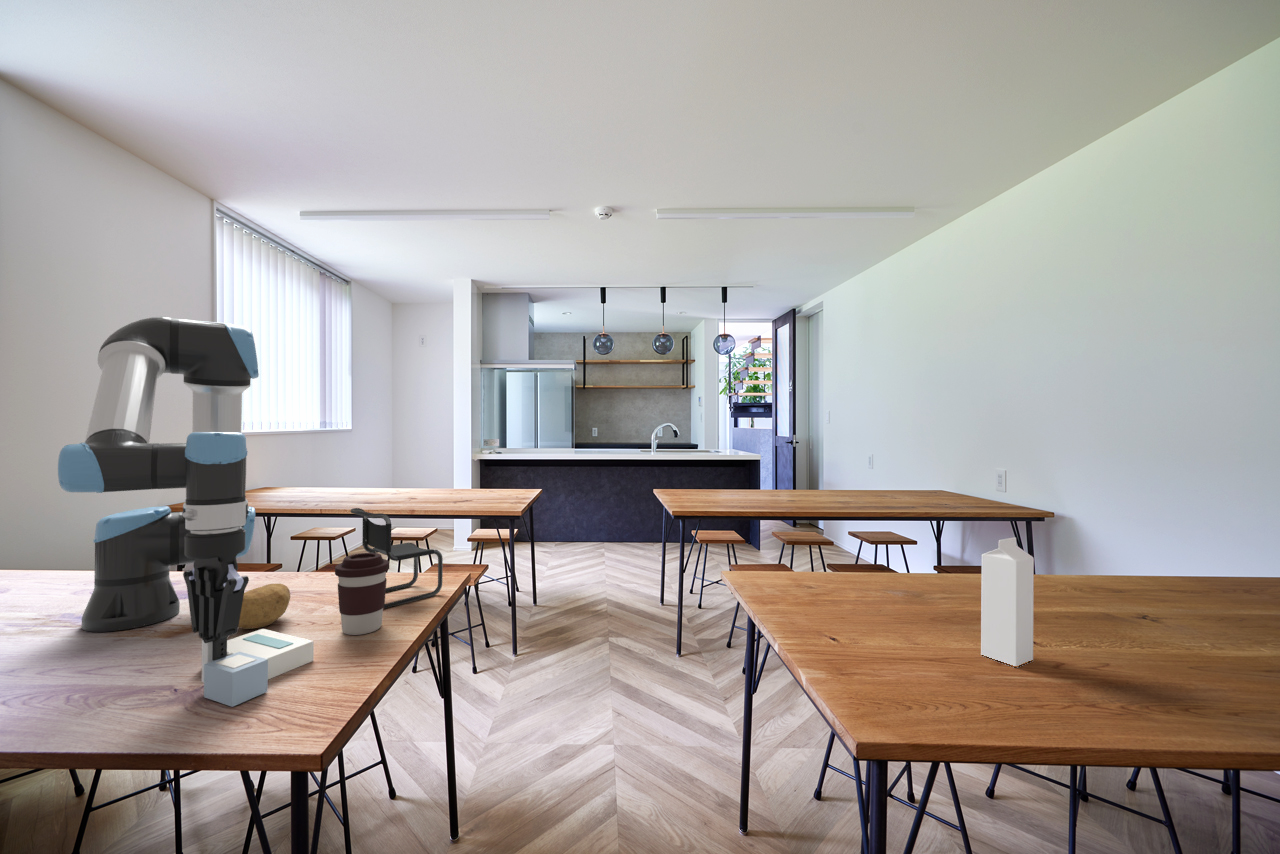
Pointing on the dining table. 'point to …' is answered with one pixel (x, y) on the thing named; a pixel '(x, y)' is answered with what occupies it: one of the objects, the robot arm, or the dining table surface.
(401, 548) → the chair
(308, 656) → the white device
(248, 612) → the potato
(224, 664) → the light blue box
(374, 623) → the coffee cup
